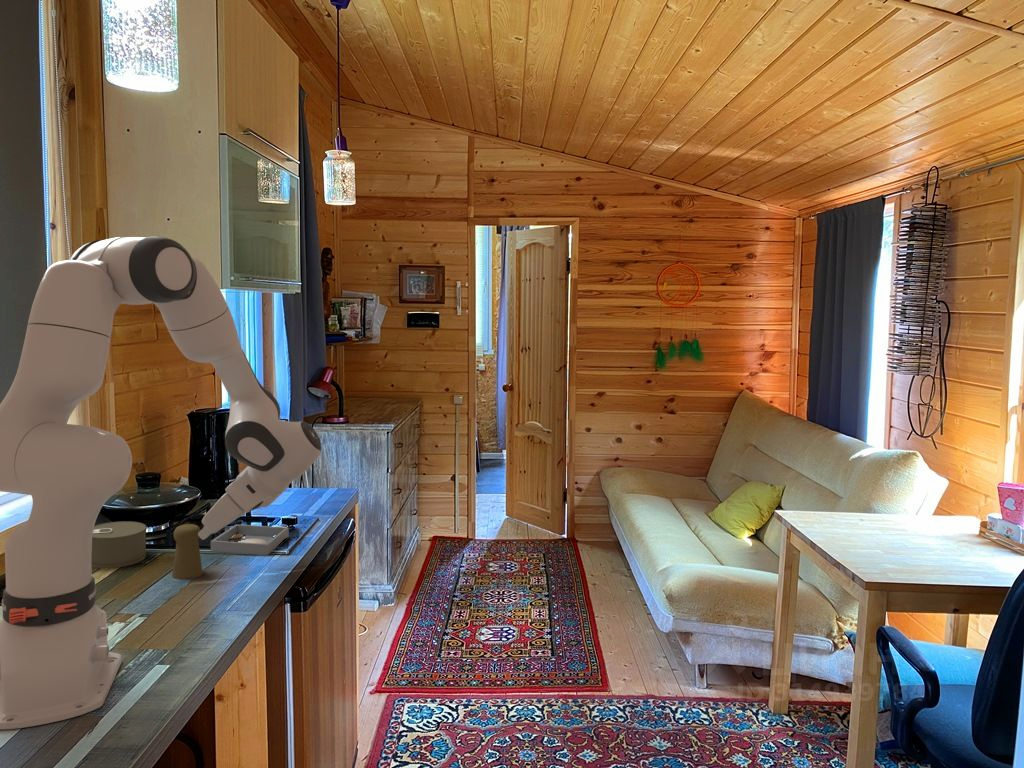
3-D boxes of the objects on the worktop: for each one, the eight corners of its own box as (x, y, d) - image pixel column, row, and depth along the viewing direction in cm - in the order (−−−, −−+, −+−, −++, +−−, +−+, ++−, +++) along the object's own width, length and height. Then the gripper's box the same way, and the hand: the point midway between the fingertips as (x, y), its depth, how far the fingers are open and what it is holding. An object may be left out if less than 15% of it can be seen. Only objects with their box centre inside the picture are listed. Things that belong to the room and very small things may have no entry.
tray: (267, 557, 168) (267, 544, 168) (210, 554, 169) (210, 541, 169) (288, 539, 181) (288, 527, 181) (235, 536, 182) (235, 524, 182)
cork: (191, 583, 152) (191, 531, 150) (165, 580, 153) (164, 528, 152) (209, 573, 157) (209, 523, 156) (183, 570, 159) (183, 520, 158)
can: (147, 564, 161) (146, 534, 161) (83, 571, 156) (82, 540, 155) (146, 547, 172) (146, 519, 171) (86, 553, 166) (86, 524, 166)
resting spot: (269, 546, 174) (269, 545, 174) (237, 550, 171) (237, 549, 171) (263, 538, 180) (263, 537, 180) (233, 541, 177) (233, 540, 177)
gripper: (268, 463, 162) (224, 504, 164) (226, 486, 142) (177, 532, 144) (288, 484, 162) (244, 525, 164) (248, 510, 142) (199, 556, 144)
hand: (212, 529), depth 154 cm, fingers open, 8 cm apart
